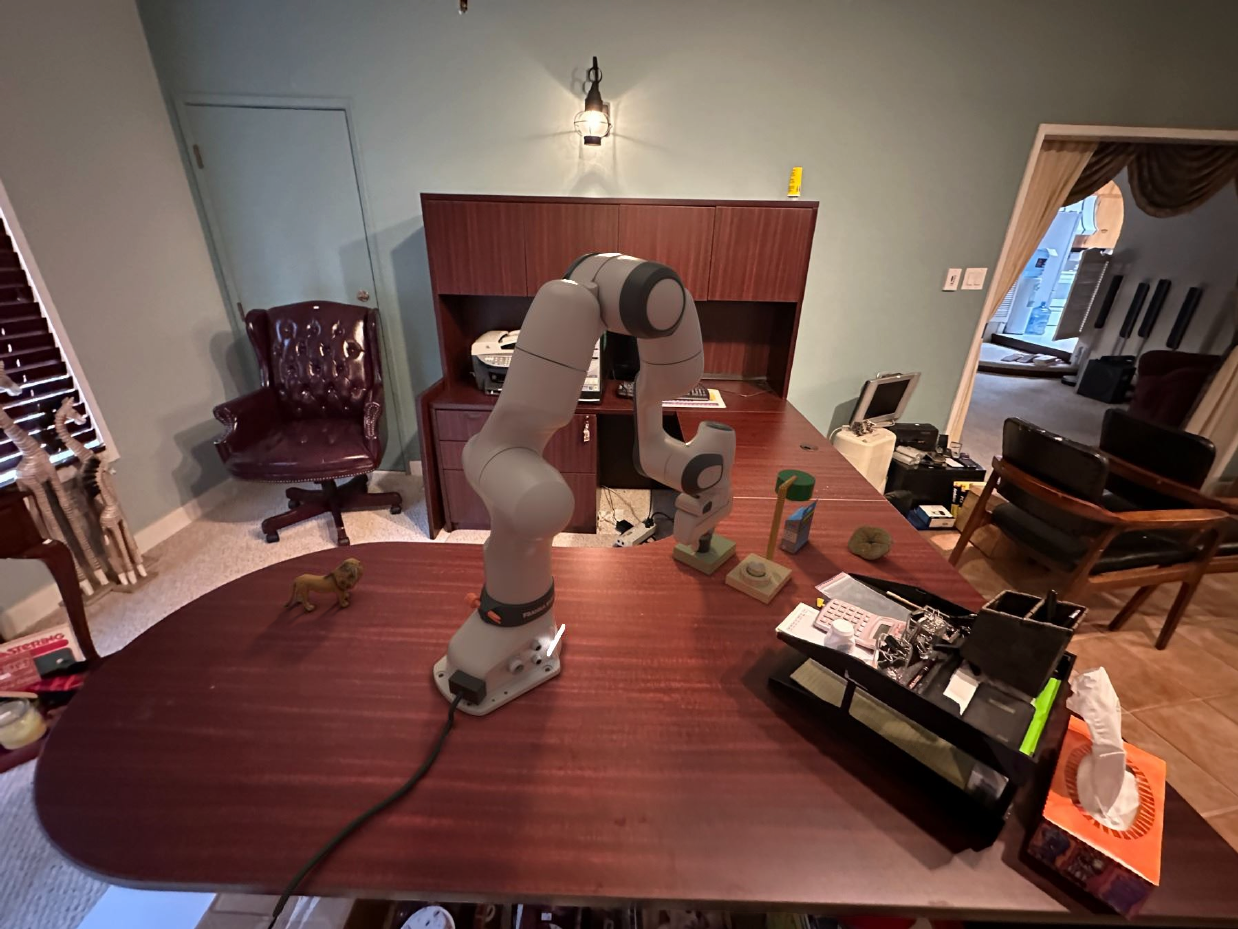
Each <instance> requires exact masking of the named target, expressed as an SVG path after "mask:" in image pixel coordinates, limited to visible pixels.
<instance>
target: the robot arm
mask: <svg viewBox="0 0 1238 929" xmlns="http://www.w3.org/2000/svg"><path fill="white" fill-rule="evenodd" d="M684 284H685V283H684V282H683V280H682V278H681V277H680V275H679V273H677V271H675V270H674V269H673V268H672V267H670V266H668V265H667V264H664V263H662V262H659V261H656V260H646V259H644V258H643V259H642V258H639V257H635V256H632V255H629V254H625V253H603V252H590V253H586V254H583V255H581V256H580V257H577V258H576V259H575V260H573V262H571V264H570V265H569V266H568V268H567V269H566V271H565V272H564V273H563V276H562V277H561V278H560V279H553V280H549V281H547V282H545V283H544V284H543V285H541V287H540V288H539V289H538V291H537V293H536V294H535V295H534V296H535V297H534V298H533V300H532V302H531V304H530V306H529V308H528V310H527V312H526V314H525V317H524V319H523V322H522V325H521V327H520V330H519V333H518V336H517V338H516V342H515V345H514V348H513V351H512V355H511V358H510V361H509V365H508V367H507V371H506V373H505V374H506V375H505V378H504V381H503V384H502V387H501V391H500V393H499V396H498V399H497V401H496V403H495V405H494V407H493V409H492V410H491V413H490V414H489V416H488V417H487V419H486V421H485V423H484V425H483V426H482V428H481V430H480V431H479V432H478V433H475V434H473V435H472V437H470V438H469V439H468V441H467V442H466V444H465V445H464V447H463V449H462V453H461V465H462V469H463V473H464V476H465V478H466V481H467V484H468V485H469V487H470V488H471V489H472V490H473V491H474V492H475V494H476V495H477V496H478V497H479V498H480V499H481V500H482V503H483V504H484V505H485V508H486V510H487V513H488V515H489V520H490V533H489V536H488V537H487V538H486V539H485V541H484V543H483V545H482V551H481V552H482V562H483V573H484V574H483V576H484V583H483V586H482V588H481V592H480V596H477V595H476V594H475V593H474V592H469V593H467V594H465V597H464V600H463V602H464V604H465V605H467V606H469V608H471V609H474V610H473V612H471V613H470V615H469V616H468V618H467V619H466V620H465V621H464V622H463V623H462V624H461V626H460V627H459V628H458V630H456V632H455V633H454V634H453V636H452V637H450V639H449V641H448V644H447V647H446V654H445V655H444V656H443V657H441V658H440V659H439V660H438V661H437V662H436V663H435V664H434V665H433V681H434V683H435V686H436V688H437V689H438V691H439V692H440V693H441V695H442V696H443V697H444V698H445V699H446V700H447V701H448V702H449V703H450V706H449V708H448V711H447V721H446V723H445V726H444V729H443V731H442V733H441V736H440V738H439V741H438V743H437V744H436V745H435V748H434V749H433V750H432V752H431V754H430V755H429V757H428V758H427V759H426V760H425V761H424V763H423V764H422V765H421V767H420V768H419V769H418V770H417V771H416V772H415V774H413V775H412V777H411V778H410V779H409V780H408V781H407V782H406V783H404V784H403V785H402V786H401V787H400V788H398V789H397V790H396V791H395V792H393V793H392V794H391V795H389V796H388V797H386V798H385V799H384V800H382V801H380V802H379V803H377V804H375V805H374V806H373V807H371V808H369V809H368V810H366V811H365V812H363V813H362V814H361V815H359V816H358V817H356V818H355V819H353V820H352V821H351V822H350V823H348V824H347V825H346V826H345V827H343V828H342V829H341V830H340V831H339V832H338V833H337V834H335V836H333V837H332V838H331V839H330V840H329V841H328V842H327V843H326V844H325V845H324V846H322V848H321V849H319V850H318V851H317V852H315V854H314V855H313V856H312V857H310V859H309V860H308V861H307V862H306V863H305V864H304V865H303V866H302V867H301V868H300V870H299V871H298V872H297V873H296V874H295V875H294V876H293V878H292V879H291V881H290V882H289V883H288V885H287V886H286V888H285V889H284V891H283V892H282V895H281V896H280V898H279V899H278V901H277V903H276V905H275V907H274V910H273V911H272V918H278V917H279V916H280V915H281V914H282V912H283V910H284V908H285V907H286V904H287V903H288V901H289V899H290V897H292V894H293V892H294V891H295V890H296V888H297V887H298V885H299V884H300V883H301V881H302V880H304V877H305V876H306V875H307V874H308V873H309V872H310V871H311V870H312V868H313V867H314V866H316V864H318V863H319V861H321V860H322V858H324V857H325V856H326V855H327V854H328V853H329V852H330V851H331V850H332V849H333V848H334V847H336V846H337V845H338V844H339V843H340V842H341V841H342V840H343V839H344V838H345V837H346V836H348V835H349V834H350V833H351V832H353V831H354V830H355V829H356V828H357V827H358V826H361V825H362V824H363V823H364V822H366V821H367V820H368V819H370V818H371V817H373V816H374V815H376V814H378V813H379V812H380V811H382V810H384V809H385V808H387V807H388V806H390V805H391V804H393V803H395V802H396V801H397V800H399V798H401V797H402V796H403V795H405V794H406V793H407V792H408V791H409V790H410V789H411V788H412V787H413V786H414V785H415V784H416V783H417V782H418V781H419V780H420V778H421V777H422V776H423V775H424V774H425V773H426V772H427V771H428V769H429V768H430V767H431V765H432V764H433V762H434V761H435V760H436V758H437V756H438V754H439V752H440V749H441V746H442V744H443V743H444V740H445V738H446V737H447V736H448V734H449V732H450V731H451V729H452V726H453V723H454V721H455V711H456V709H458V710H460V711H461V712H463V713H465V714H469V715H471V716H472V715H473V716H478V717H483V716H485V715H487V714H490V713H491V712H493V711H495V710H496V709H498V708H500V707H502V706H503V705H505V704H507V703H509V702H511V701H512V700H514V699H517V698H518V697H520V696H522V695H524V694H525V693H527V692H528V691H529V692H530V690H532V689H534V688H536V687H538V686H539V685H541V684H543V683H545V682H547V681H549V680H550V679H552V678H554V677H556V676H557V675H559V674H560V672H561V670H562V669H561V668H562V666H561V661H560V655H561V652H562V648H563V640H562V639H563V638H562V636H561V635H562V634H563V632H564V631H565V628H566V627H565V626H566V625H565V624H562V625H561V627H560V629H559V628H558V625H557V621H556V616H555V609H554V603H555V600H556V596H555V595H556V591H555V590H556V588H555V579H554V576H553V573H552V571H553V570H552V567H553V566H552V565H553V562H552V560H553V558H552V553H553V552H552V550H553V544H554V543H553V542H554V539H555V537H556V536H558V535H559V534H561V533H562V532H563V531H564V529H566V527H567V526H568V524H569V523H570V521H571V520H572V517H573V516H574V511H575V506H576V504H575V501H576V500H575V496H574V493H573V491H572V489H571V487H570V486H569V485H568V483H567V481H566V480H565V478H564V477H563V475H562V474H561V472H559V470H558V469H557V468H555V467H554V466H553V465H552V464H550V463H549V462H548V461H547V460H546V459H544V458H543V455H544V450H545V448H546V447H547V445H548V442H549V441H550V439H551V438H552V437H553V436H554V434H555V433H556V431H558V430H559V429H561V428H564V427H566V426H567V425H568V424H570V423H571V422H572V420H573V418H574V416H575V413H576V410H577V406H578V403H579V400H580V398H581V395H582V391H583V388H584V385H585V383H586V379H587V377H588V374H589V373H588V372H589V370H590V367H591V364H592V360H593V356H594V354H595V349H596V345H597V343H598V341H599V340H600V338H601V337H602V336H603V335H604V334H605V333H606V332H607V331H609V332H613V333H617V334H620V335H626V336H632V337H634V338H636V342H637V350H638V351H637V352H638V357H639V365H640V367H639V371H638V372H637V373H636V374H635V377H634V380H633V384H632V407H633V410H632V411H633V426H634V430H633V431H634V441H633V442H634V443H633V449H632V463H633V467H634V469H635V470H636V472H637V473H638V474H639V475H641V476H644V477H645V478H649V479H650V480H651V479H652V480H655V481H657V482H659V483H661V484H662V485H665V486H667V487H669V488H672V489H673V490H675V491H678V492H680V494H679V495H678V496H677V498H676V499H675V503H674V504H675V507H676V508H677V510H676V512H675V514H674V520H673V521H674V522H673V531H672V533H673V535H672V536H673V539H674V540H675V541H676V542H677V543H678V544H679V543H681V544H683V545H686V546H688V545H690V544H691V549H692V550H694V551H697V550H699V549H700V548H701V542H699V539H700V537H701V536H702V535H703V534H705V533H706V532H707V531H708V533H710V534H711V536H712V537H711V540H712V539H713V533H715V532H716V530H717V528H718V524H719V523H721V522H723V521H724V520H725V519H727V518H728V517H729V516H730V515H731V514H732V511H733V506H734V490H733V489H732V485H733V483H732V478H731V472H732V469H733V467H734V463H735V458H736V457H735V456H736V447H737V446H736V445H737V443H736V442H737V441H736V440H737V437H736V431H735V429H733V427H732V426H730V425H728V424H726V423H723V422H720V421H714V420H703V421H701V422H700V423H699V425H698V427H697V431H696V434H695V436H694V437H693V438H692V439H690V440H689V441H688V442H683V441H682V440H679V439H677V438H674V437H672V436H670V435H669V434H668V433H667V432H666V431H665V430H664V428H663V402H668V401H673V400H676V399H679V398H681V397H683V396H686V395H687V394H689V393H690V392H692V391H693V390H694V389H695V388H696V387H697V386H698V385H699V383H700V382H701V380H702V378H703V376H704V375H703V374H704V370H705V354H704V346H703V337H702V336H703V335H702V330H701V325H700V319H699V315H698V311H697V307H696V304H695V301H694V298H693V295H692V294H691V292H690V290H688V289H687V288H686V287H685V285H684Z"/></svg>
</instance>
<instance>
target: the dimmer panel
mask: <svg viewBox="0 0 1238 929" xmlns="http://www.w3.org/2000/svg"><path fill="white" fill-rule="evenodd" d="M736 549H737V542H736V541H733V540H731V539H729V538H726V537H724V536H722V535H719V534H717V533H715V532H714V533H713V539H712V540H711V544H710V550H709V551H708V552H706V553H700V552H697V551H694V550H692V549H691V544H690V545H688V546H686V545H683V544H681V543H679V542H678V543H677V544H675V545H674V546H673V550H672V558H673V559H675V560H678V561H679V562H682V563H683V564H685V565H688V566H690V567H692V568H694V569H696V570H698V571H700V572H702V573H703V574H706V575H708V576H710V575H711V574H713V573H714V572H715V571H716V570H717V569H719V567H721V566H722V565H723V564H724V563H725V562H726V561H728V559H731V557H732V556H733V555H735V554H736Z"/></svg>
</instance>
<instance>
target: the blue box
mask: <svg viewBox="0 0 1238 929" xmlns="http://www.w3.org/2000/svg"><path fill="white" fill-rule="evenodd" d="M818 500H819V498H816V499H815V500H814V501H813V502H812V503H810V505H808V506H802V507H801V506H800V507H799V508H798V509H796V510H795V511H794V512H793V513H792V514H791V515H790V516H789V517H787V518H786V519H785V521H784V526H783V531H782V536H781V541H780V545H779V549H780V550H782V551H785V552H787V553H790V554H793V555H794V554H795V553H796V552H798V550H800V548H802V547H803V546H804V545H805V543H807V542H808V540H809V536H810V531H811V526H812V523H813V518H814V514H815V509H816V506H817V504H818Z"/></svg>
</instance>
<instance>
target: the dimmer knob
mask: <svg viewBox="0 0 1238 929" xmlns="http://www.w3.org/2000/svg"><path fill="white" fill-rule="evenodd" d="M711 537H712V536H711V534H710V533H708V531H707V532H706V533H705V534H703V535H702V536H701V537H700V539H699V542H701V548H700V549H699V550H697V552H700V553H706V552H708V551H709V550H710V544H711Z"/></svg>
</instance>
